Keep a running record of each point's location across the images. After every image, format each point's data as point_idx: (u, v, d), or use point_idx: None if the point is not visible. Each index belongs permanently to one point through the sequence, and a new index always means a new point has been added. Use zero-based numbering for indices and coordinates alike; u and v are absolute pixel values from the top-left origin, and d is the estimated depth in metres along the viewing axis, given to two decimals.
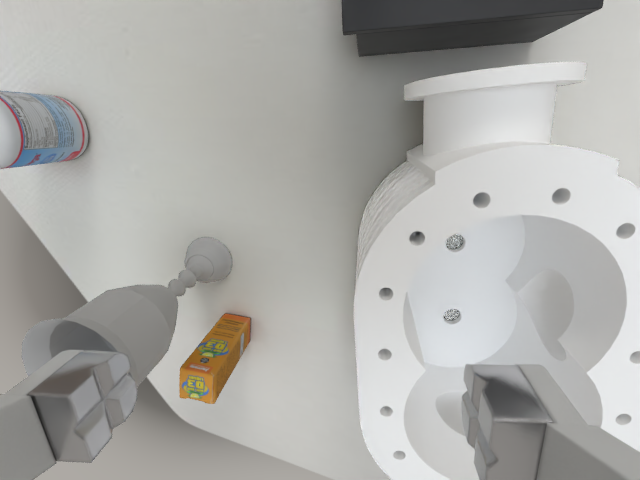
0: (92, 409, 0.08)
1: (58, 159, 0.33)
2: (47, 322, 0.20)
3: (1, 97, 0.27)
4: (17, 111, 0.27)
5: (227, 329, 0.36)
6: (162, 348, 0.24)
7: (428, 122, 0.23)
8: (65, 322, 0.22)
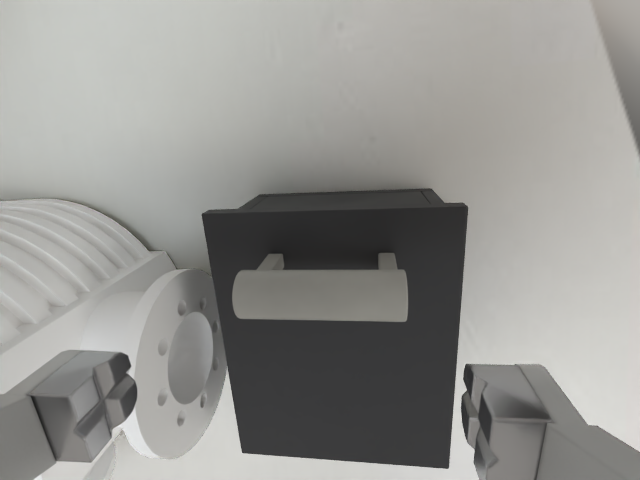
0: (92, 409, 0.08)
1: None
2: None
3: None
4: None
5: None
6: None
7: (129, 308, 0.19)
8: None
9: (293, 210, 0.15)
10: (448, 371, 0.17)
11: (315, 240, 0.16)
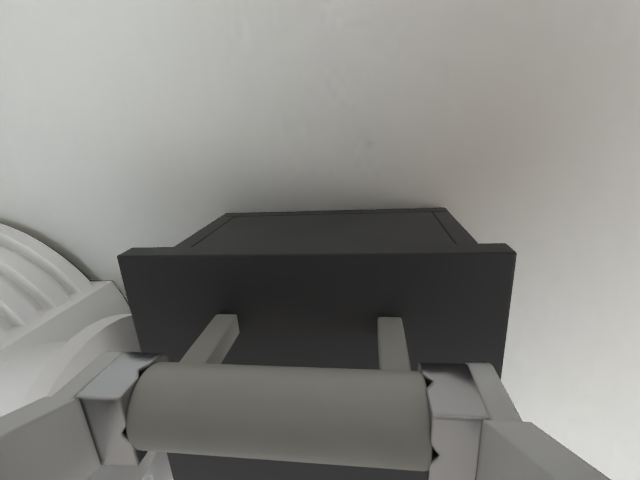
0: None
1: None
2: None
3: None
4: None
5: None
6: None
7: (35, 375, 0.14)
8: None
9: (250, 252, 0.10)
10: None
11: (283, 296, 0.10)
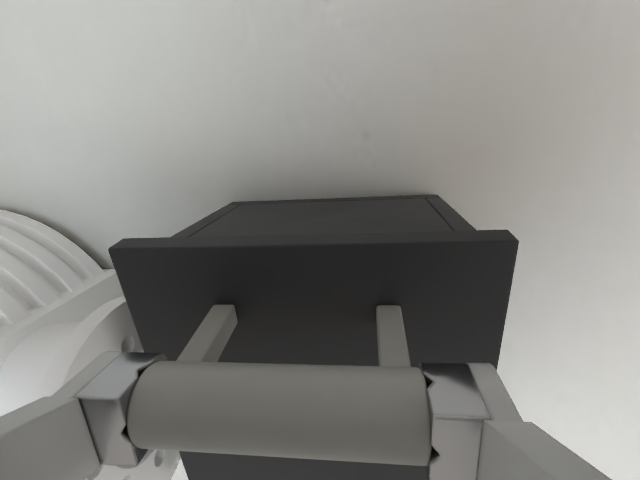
0: None
1: None
2: None
3: None
4: None
5: None
6: None
7: (58, 347, 0.15)
8: None
9: (245, 243, 0.10)
10: None
11: (280, 286, 0.10)
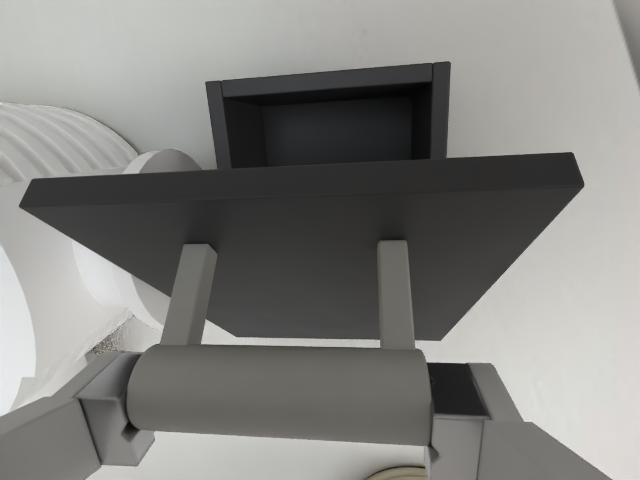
0: None
1: None
2: None
3: None
4: None
5: None
6: None
7: None
8: None
9: (199, 194, 0.07)
10: (460, 309, 0.13)
11: (259, 229, 0.08)
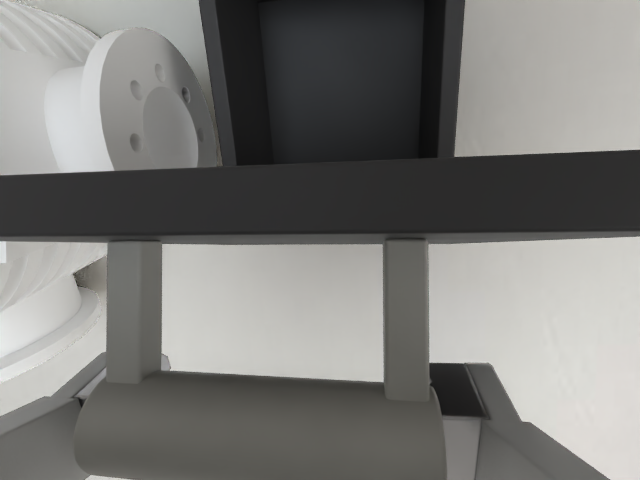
0: None
1: None
2: None
3: None
4: None
5: None
6: None
7: None
8: None
9: (81, 224, 0.04)
10: None
11: (203, 238, 0.05)
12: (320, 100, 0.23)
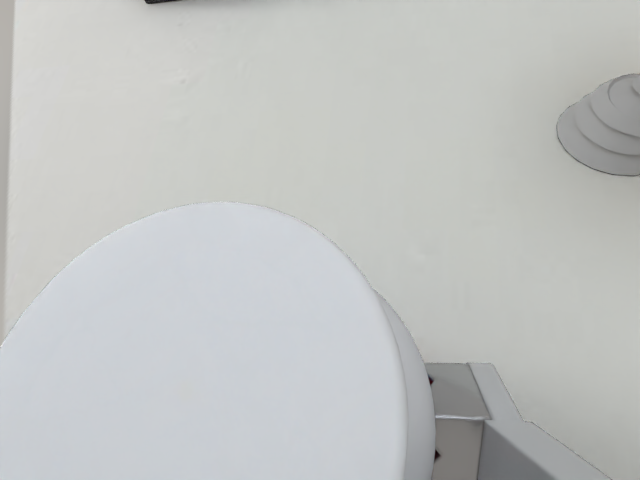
0: None
1: None
2: None
3: None
4: None
5: None
6: None
7: None
8: None
9: None
10: None
11: None
12: None
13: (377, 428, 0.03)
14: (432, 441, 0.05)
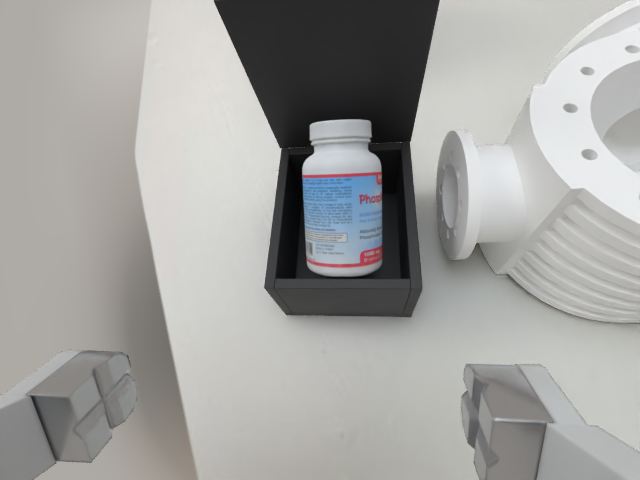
0: (92, 410, 0.08)
1: None
2: None
3: None
4: None
5: None
6: None
7: (494, 230, 0.26)
8: None
9: None
10: None
11: None
12: None
13: None
14: (379, 160, 0.26)
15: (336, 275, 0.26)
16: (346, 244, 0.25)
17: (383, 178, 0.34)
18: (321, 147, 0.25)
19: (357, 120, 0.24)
